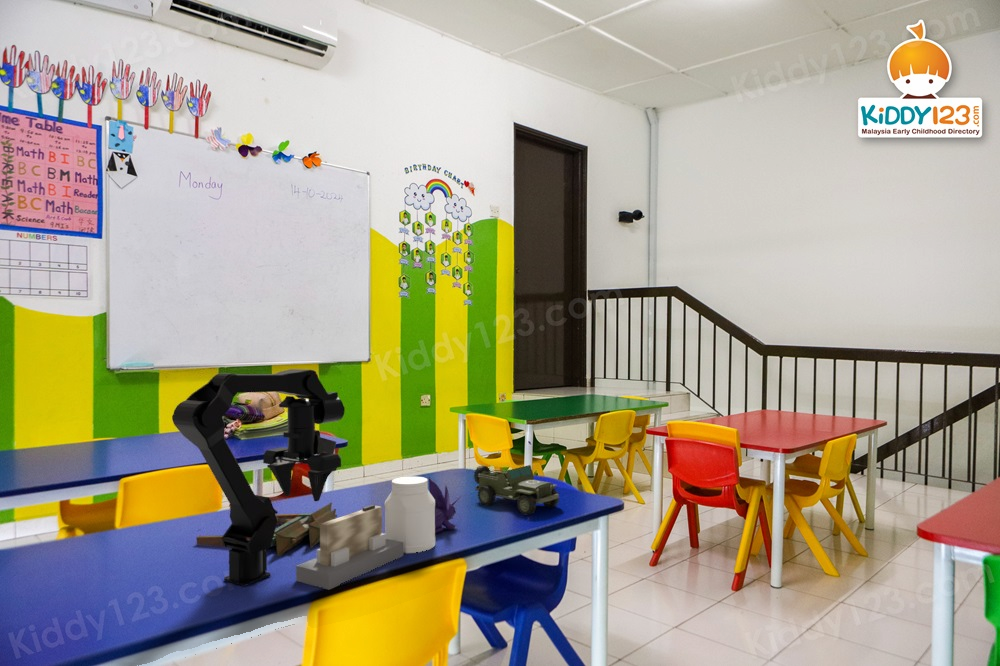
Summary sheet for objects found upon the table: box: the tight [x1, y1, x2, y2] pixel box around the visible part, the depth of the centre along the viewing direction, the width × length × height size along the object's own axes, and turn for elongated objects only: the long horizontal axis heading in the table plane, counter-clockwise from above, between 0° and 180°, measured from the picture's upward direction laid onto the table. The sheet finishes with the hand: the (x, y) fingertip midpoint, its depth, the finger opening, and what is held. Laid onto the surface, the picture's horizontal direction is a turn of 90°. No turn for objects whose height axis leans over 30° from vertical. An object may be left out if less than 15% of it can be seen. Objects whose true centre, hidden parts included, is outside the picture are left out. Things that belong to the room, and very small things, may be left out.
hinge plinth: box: [295, 532, 404, 591], centre depth 138 cm, size 22×9×6 cm, turn 149°
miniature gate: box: [195, 502, 338, 557], centre depth 160 cm, size 27×6×30 cm
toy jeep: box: [473, 464, 560, 516], centre depth 187 cm, size 12×25×11 cm, turn 47°
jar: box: [384, 476, 436, 554], centre depth 152 cm, size 12×10×15 cm
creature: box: [428, 476, 462, 534], centre depth 164 cm, size 9×18×12 cm, turn 134°
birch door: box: [319, 504, 383, 566], centre depth 138 cm, size 16×2×9 cm, turn 149°
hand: (301, 498), depth 144 cm, fingers open, 9 cm apart
